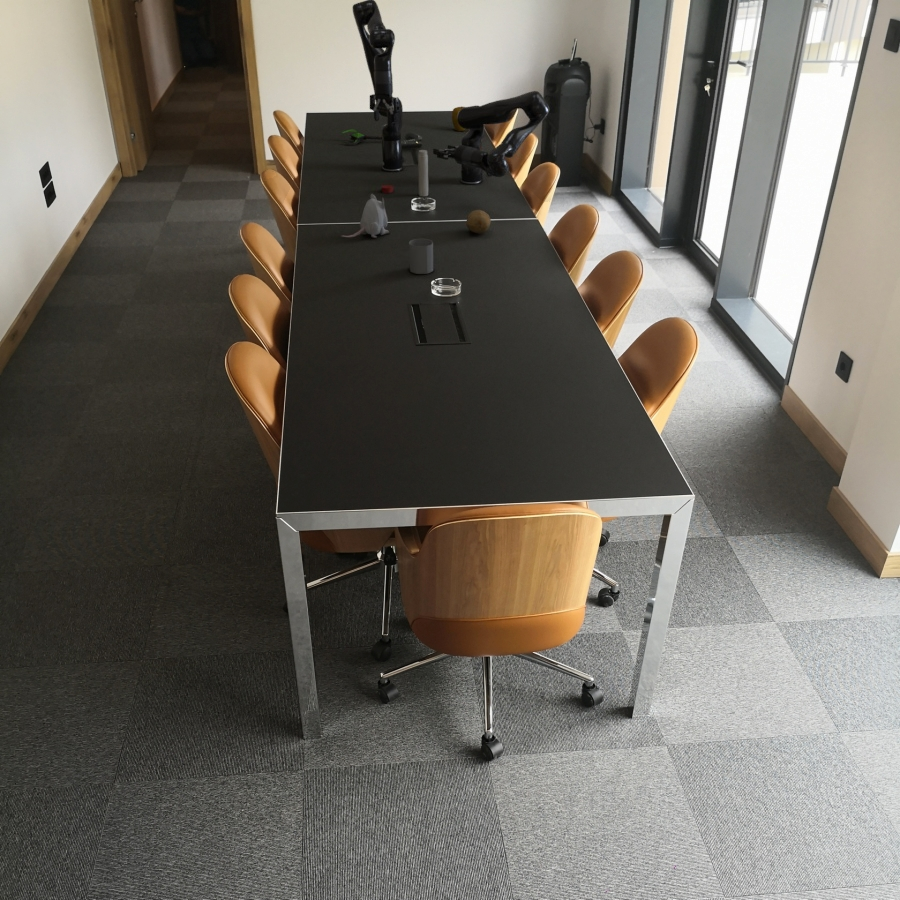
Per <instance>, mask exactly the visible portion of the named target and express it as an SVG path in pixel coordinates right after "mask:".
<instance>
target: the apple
mask: <svg viewBox="0 0 900 900" xmlns="http://www.w3.org/2000/svg"><path fill="white" fill-rule="evenodd" d="M465 107H466V106H462V105H461V106H457V107H454V108H452V111H451V121H452V125H453V128H454V129H455V131H457V132H463V131H466V130H467V129H464V128H462V127H461V126H460V125H459V124H458V121H457V116H458V113H459V111H460V110H461V109H462V108H465Z"/></svg>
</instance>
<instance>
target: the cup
mask: <svg viewBox="0 0 900 900" xmlns="http://www.w3.org/2000/svg"><path fill="white" fill-rule="evenodd" d="M408 253H409V272H411V273H412V274H416V275H426V274H430V273H432V272H434V241H433V240H431V239H428V238H422V237H421V238H420V237H419V238H414V239H411V240H410V241H409V242H408Z"/></svg>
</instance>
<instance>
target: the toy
mask: <svg viewBox="0 0 900 900" xmlns="http://www.w3.org/2000/svg"><path fill="white" fill-rule="evenodd" d="M359 227H360V229H359V230H358V231H357V232H355V233H353V234H350V235H341V237H342V238H355V237H357V236H359V235H365V236H366V235H367V234H368V235H371V238H374V239H377V238H378V236H377V235H381V236H382V235H383V236H384V235H387V234H389V233H390V231H389V230H388V229H386V228H387V227H388V215H387V211H386V207H385V200H384V197H382V200H377V197H376V195H375V194H373V193H371V194H370V198H369V199H368V200H367V201H366V202H365V205H364V208H363V212H362V215H361V219H360V221H359Z"/></svg>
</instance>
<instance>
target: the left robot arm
mask: <svg viewBox="0 0 900 900" xmlns="http://www.w3.org/2000/svg"><path fill="white" fill-rule="evenodd" d="M352 14H353V18H354V21H355V25H356V27H357V31H358V34H359V37H360V40H361V44H362V49H363V52H364V56H365V61H366V64H367V68H368V71H369V75H370V79H371V84H372V88H373V92H374V93H373V94H369V110H371V111H373V119H374V121H375V122H378V121H380V116H382V117H384V118H387V120H386V124H384V125H383V124H382V126H381V137H382V140H381V151H382V152H381V153H382V161H381V164H382V170H383V171H385V172H400V171H402V170H403V165H404V164H403V162H404V161H405V158H404V157H403V148H402V127H403V115H404V114H403V111H404V110H403V103H402V101H401V99H400V98H399V96H397V97H396V96H395V97H394V96H393V94H394V86H393V85H394V84H393V71H392V56H393V52H394V51H393V50H394V46H395V40H396V35H395V33H394V31H393V30H392V29H391V28H386V26H385V24H384V22H383V19H382V18H383V17H382V14H381V12H380V8H379V6H378V3H377V1H376V0H363V1H360V2H356V3H354V4H352ZM366 26H367V29H366V28H365V27H366Z"/></svg>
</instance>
